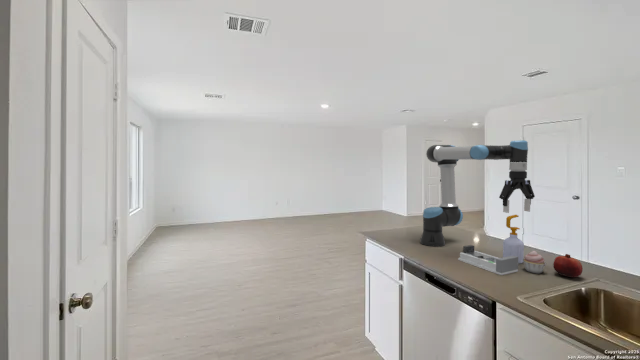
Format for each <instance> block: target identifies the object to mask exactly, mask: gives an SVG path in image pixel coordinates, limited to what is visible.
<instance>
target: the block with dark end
mask: <svg viewBox="0 0 640 360" xmlns="http://www.w3.org/2000/svg"><path fill="white" fill-rule="evenodd" d="M474 250H475V245H473V244H469V245H463V246H462V252H463V253H466V254H469V255H472V256H475V257H478V258H482V259H485V260H488V261H492V262H493V257H491V256H492V255H491V256H488V255H489V254H488V255H485V254H486V253H485V254H482V253H483V252H481V253H478V252H479V251H478V252H475V251H476V250H475V251H474Z"/></svg>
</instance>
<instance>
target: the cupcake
mask: <svg viewBox="0 0 640 360" xmlns="http://www.w3.org/2000/svg"><path fill="white" fill-rule="evenodd" d="M523 264H524V268H525V271H526V272H529V273H531V274H542V273H543V272H544V268H545V267H546V265H547V263H546V262H545V259H544V258H543V256H542V254H539V253H538V252H537V251H536V250H531V251H530V252H528V253H527V254H525V255H524V259H523Z"/></svg>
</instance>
